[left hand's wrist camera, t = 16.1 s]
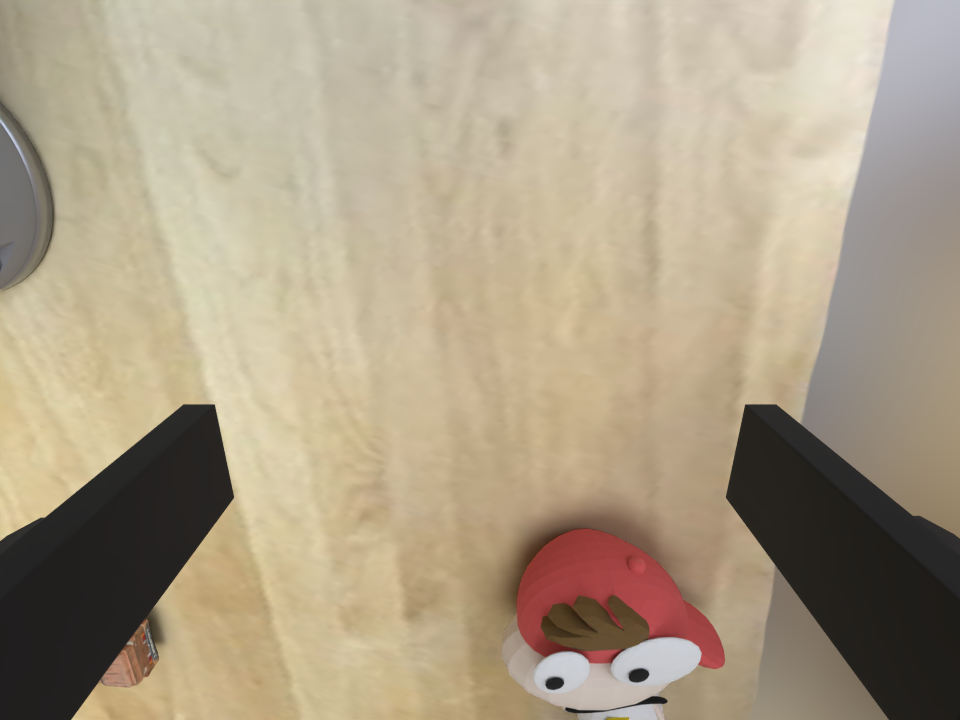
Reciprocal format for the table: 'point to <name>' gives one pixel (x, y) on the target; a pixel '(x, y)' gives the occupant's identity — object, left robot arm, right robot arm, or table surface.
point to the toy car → (133, 660)
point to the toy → (603, 629)
